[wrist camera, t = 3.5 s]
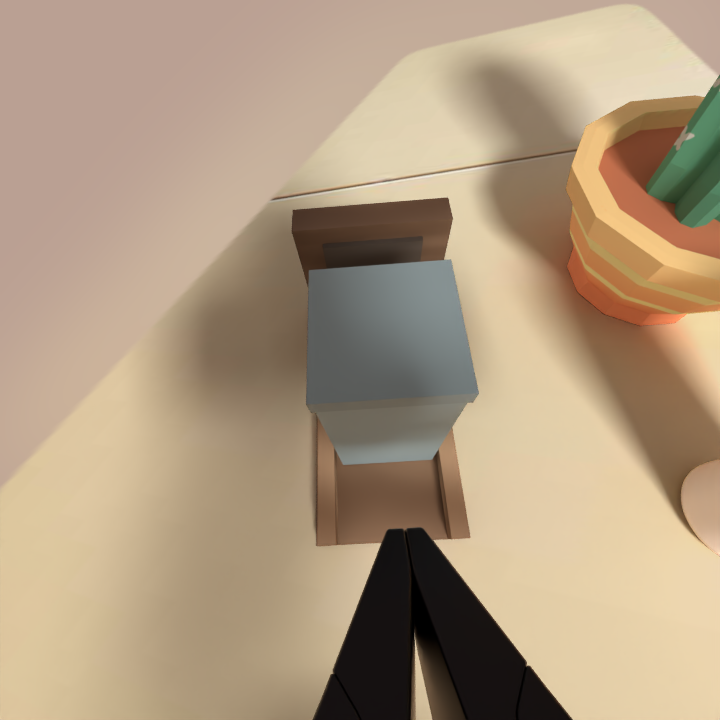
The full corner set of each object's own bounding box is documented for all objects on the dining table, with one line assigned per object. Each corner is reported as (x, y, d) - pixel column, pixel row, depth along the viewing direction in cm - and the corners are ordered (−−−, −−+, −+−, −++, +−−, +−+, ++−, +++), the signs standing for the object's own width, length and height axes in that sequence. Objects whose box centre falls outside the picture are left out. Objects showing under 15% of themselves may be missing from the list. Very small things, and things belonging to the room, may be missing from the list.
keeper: (433, 461, 20) (478, 393, 11) (341, 467, 20) (306, 404, 11) (422, 376, 23) (451, 259, 13) (339, 382, 23) (308, 270, 13)
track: (466, 537, 20) (524, 536, 12) (319, 545, 20) (276, 550, 12) (427, 296, 27) (446, 192, 19) (319, 304, 27) (293, 204, 19)
